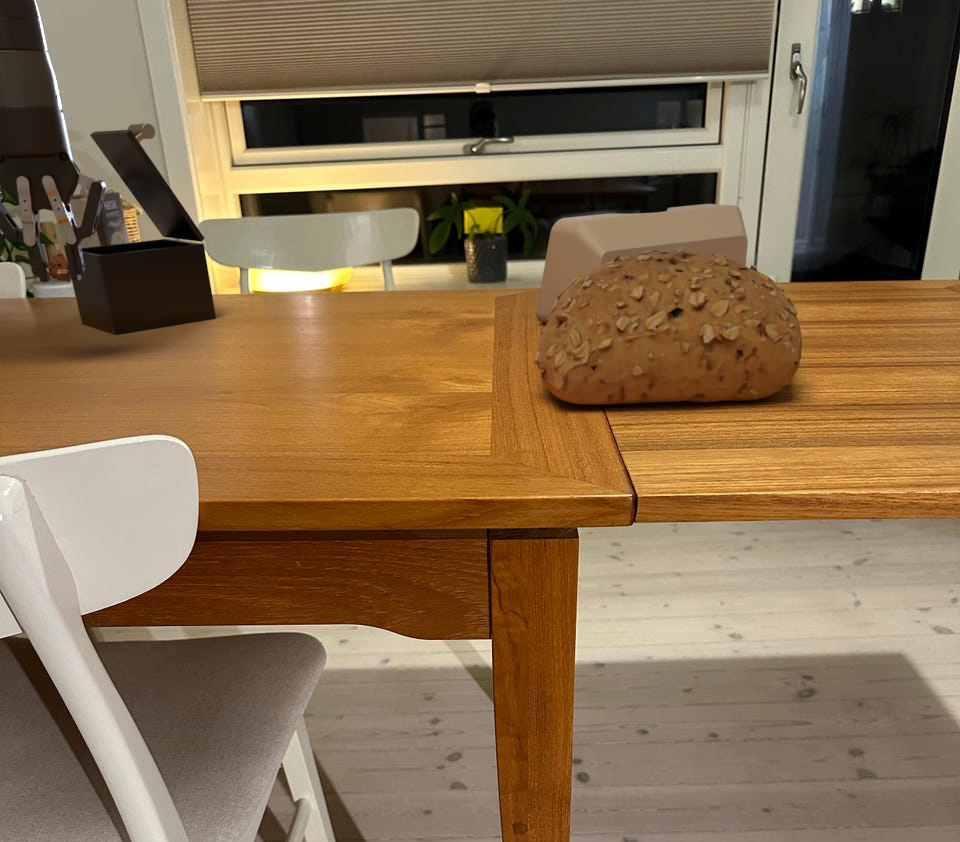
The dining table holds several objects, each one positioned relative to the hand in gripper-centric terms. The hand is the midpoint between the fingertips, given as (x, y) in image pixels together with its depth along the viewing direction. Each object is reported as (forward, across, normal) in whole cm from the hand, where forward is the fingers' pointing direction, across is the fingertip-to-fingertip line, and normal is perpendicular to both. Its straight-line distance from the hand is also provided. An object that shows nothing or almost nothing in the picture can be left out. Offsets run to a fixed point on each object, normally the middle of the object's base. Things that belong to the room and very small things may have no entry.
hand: (61, 279), depth 107 cm
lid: (-7, +7, +28) cm, 30 cm away
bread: (+8, +59, -32) cm, 68 cm away
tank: (+8, +69, -1) cm, 70 cm away
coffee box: (+10, -2, +39) cm, 40 cm away
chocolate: (0, 0, 0) cm, 0 cm away
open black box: (+9, +5, +27) cm, 29 cm away
